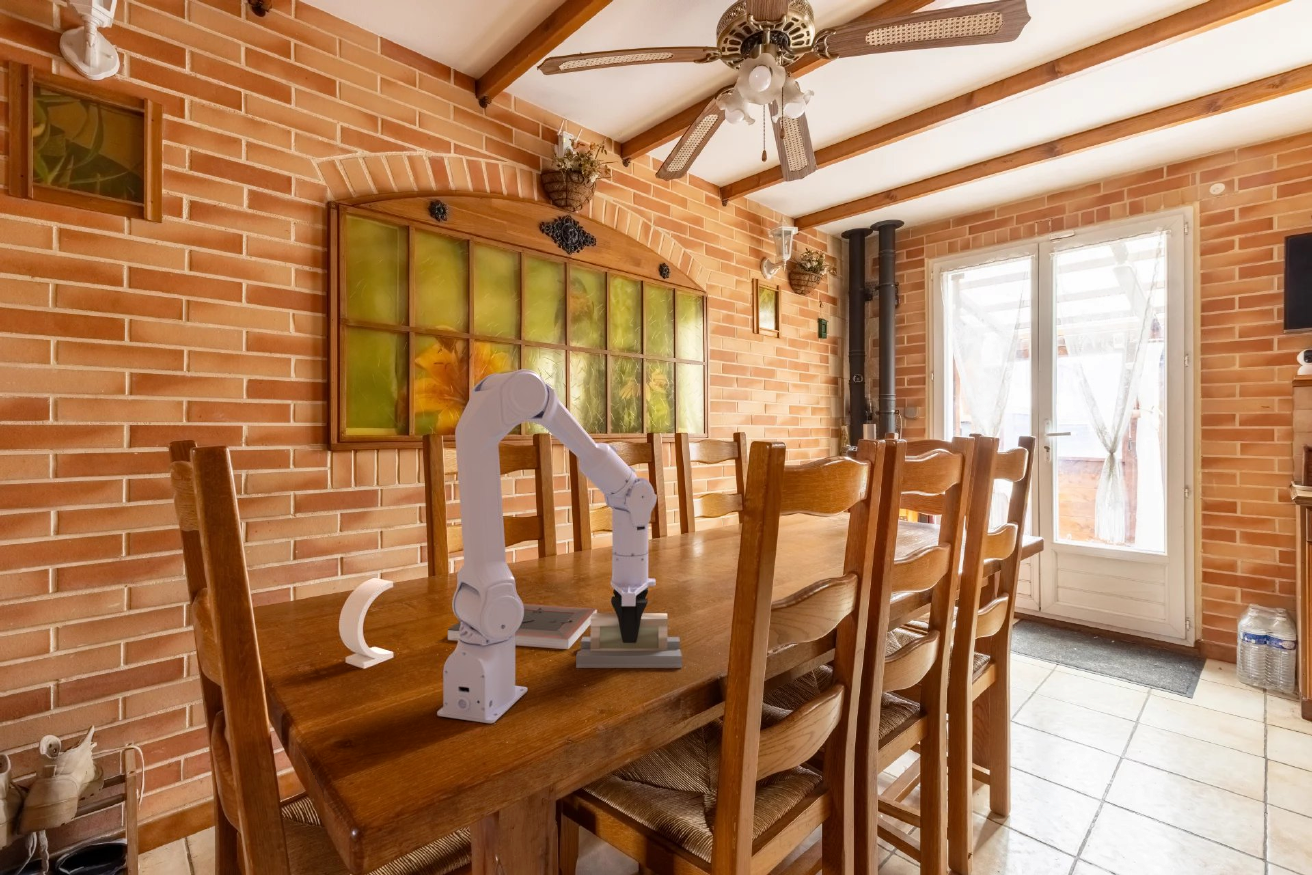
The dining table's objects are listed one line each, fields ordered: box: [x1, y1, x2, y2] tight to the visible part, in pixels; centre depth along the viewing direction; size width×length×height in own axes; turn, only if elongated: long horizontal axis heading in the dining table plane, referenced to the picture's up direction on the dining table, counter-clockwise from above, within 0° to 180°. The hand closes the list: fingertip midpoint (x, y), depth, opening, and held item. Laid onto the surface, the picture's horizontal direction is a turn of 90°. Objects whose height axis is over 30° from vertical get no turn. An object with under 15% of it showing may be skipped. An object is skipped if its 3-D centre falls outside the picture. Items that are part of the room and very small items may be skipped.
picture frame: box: [447, 603, 598, 650], centre depth 106 cm, size 16×2×22 cm
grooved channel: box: [575, 636, 683, 669], centre depth 92 cm, size 8×16×2 cm, turn 91°
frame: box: [590, 612, 669, 651], centre depth 92 cm, size 3×12×6 cm, turn 90°
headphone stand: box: [338, 577, 394, 670], centre depth 90 cm, size 5×6×12 cm
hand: (629, 637), depth 92 cm, fingers open, 3 cm apart
